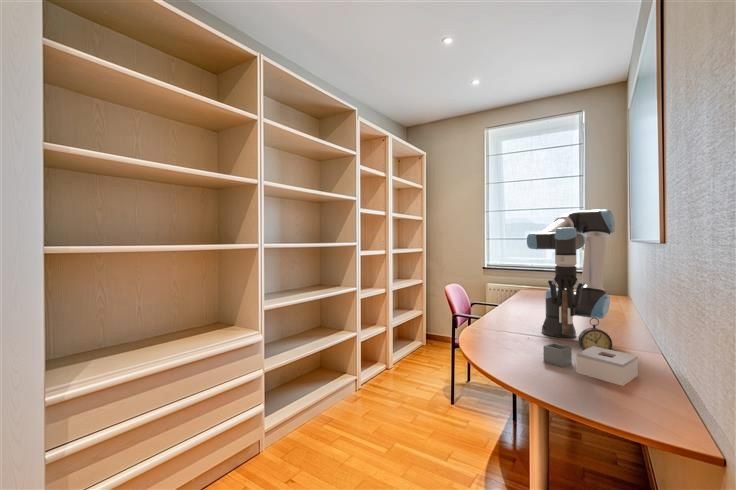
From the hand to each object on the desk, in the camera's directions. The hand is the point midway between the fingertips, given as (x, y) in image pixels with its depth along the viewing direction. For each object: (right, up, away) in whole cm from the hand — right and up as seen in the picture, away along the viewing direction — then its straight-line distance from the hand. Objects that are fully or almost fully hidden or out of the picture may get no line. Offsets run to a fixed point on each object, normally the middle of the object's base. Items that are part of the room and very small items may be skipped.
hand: (565, 322), depth 139 cm
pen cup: (-7, -14, -6) cm, 17 cm away
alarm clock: (+11, -14, -1) cm, 18 cm away
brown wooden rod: (0, -5, 0) cm, 5 cm away
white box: (+4, -14, -18) cm, 23 cm away
